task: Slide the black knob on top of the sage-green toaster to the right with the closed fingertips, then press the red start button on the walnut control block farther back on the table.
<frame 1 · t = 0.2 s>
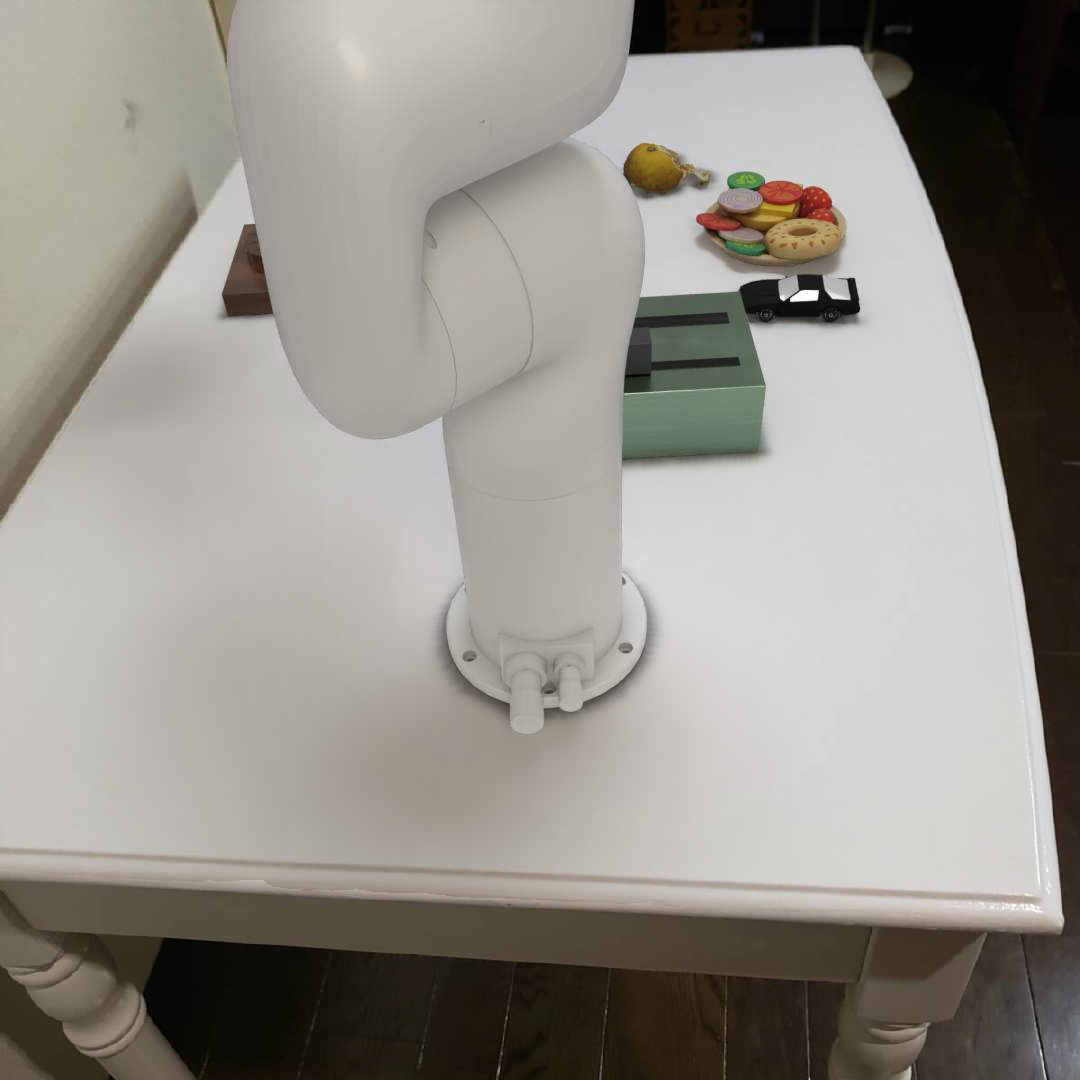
start button: (282, 232, 99), point 4 cm above the table, slide at 0.1 cm
toy car: (794, 311, 95), on the table
mug: (412, 186, 114), on the table
toaster: (668, 405, 86), on the table
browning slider: (633, 351, 79), point 7 cm above the table, slide at 0.0 cm
golden rounded piece: (669, 180, 112), on the table
control block: (293, 275, 102), on the table
toy food set: (770, 237, 103), on the table
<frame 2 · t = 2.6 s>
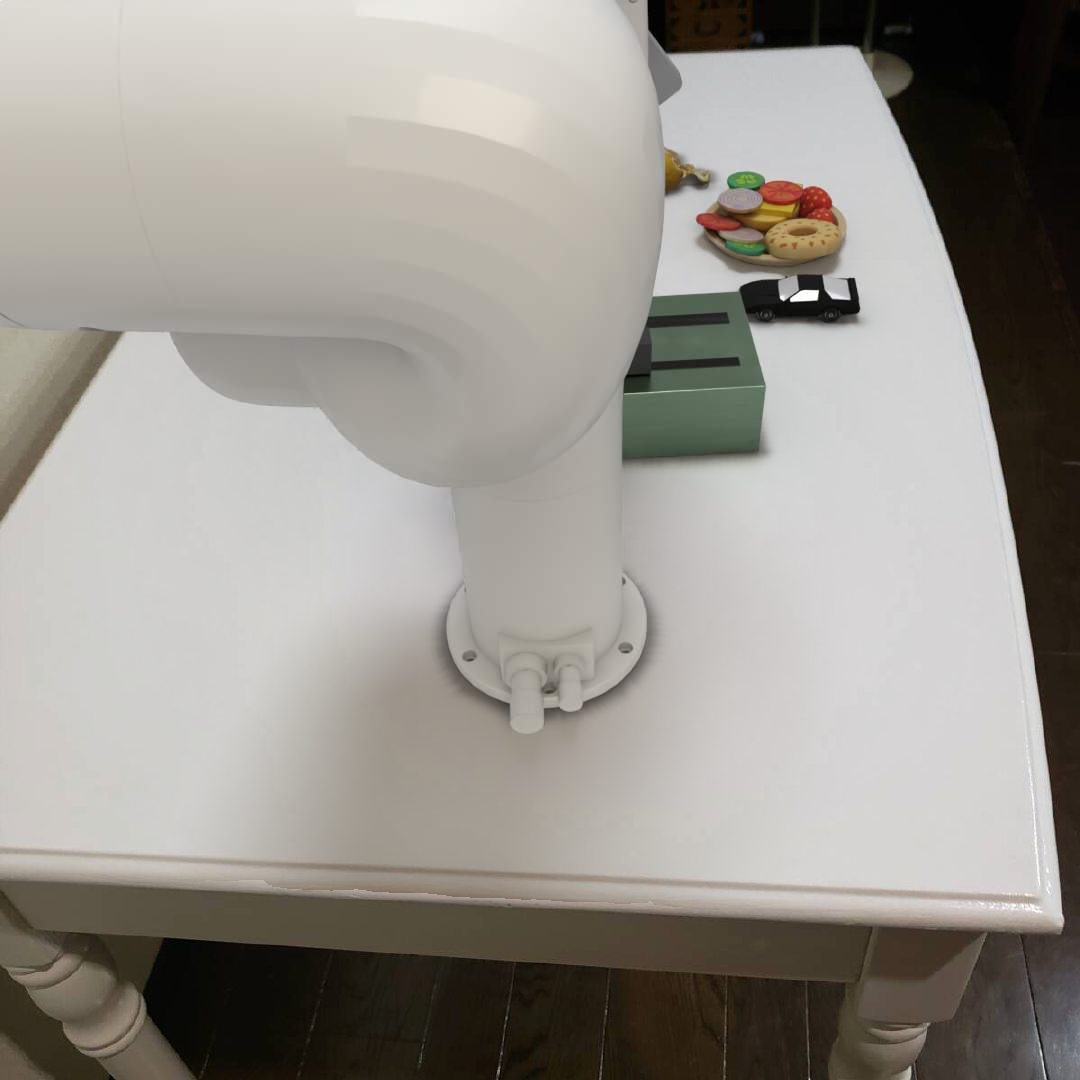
hand: (563, 199, 70), 19 cm above the table, tool pointing down, fingers open, 4 cm apart
nothing on the table moved.
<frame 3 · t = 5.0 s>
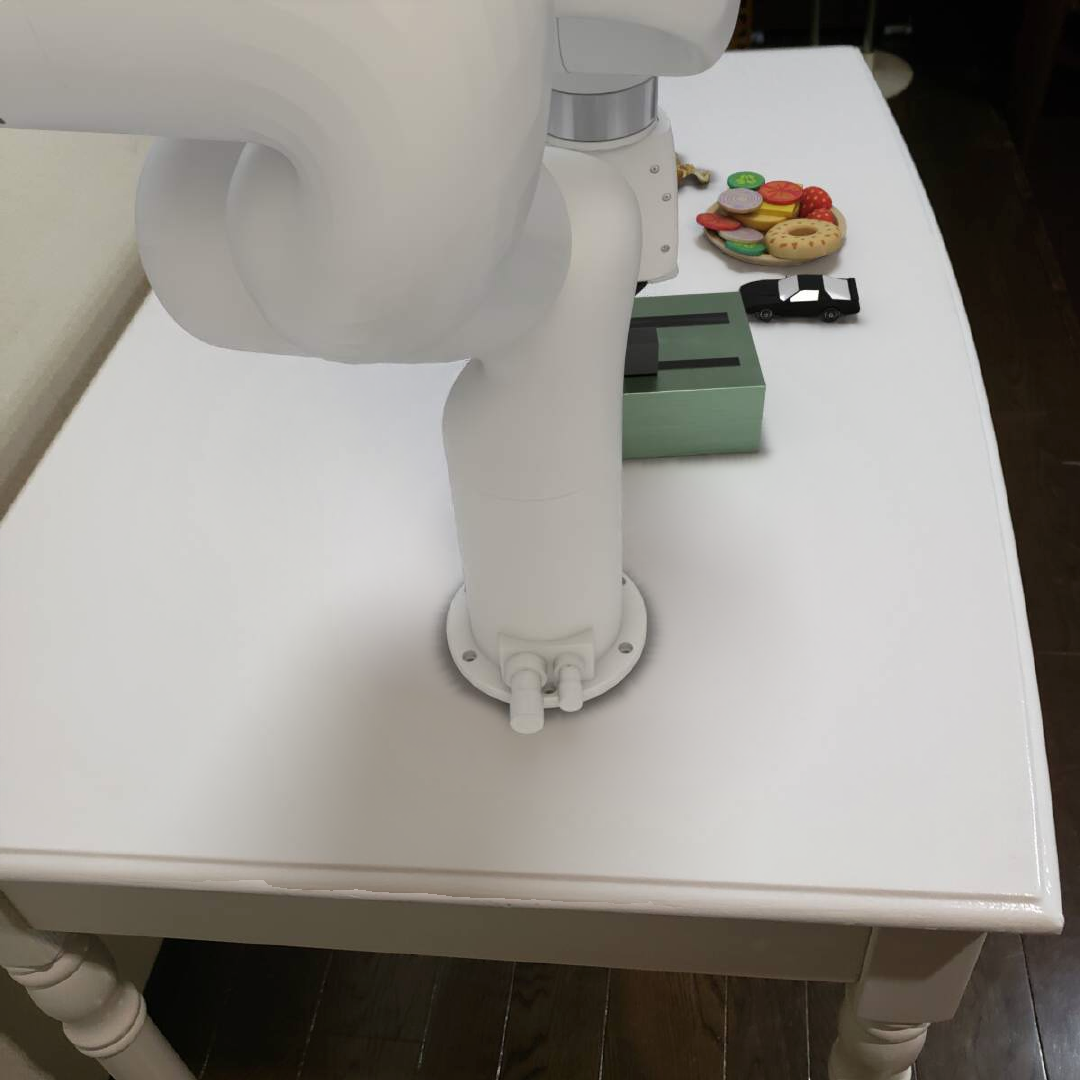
hand: (599, 351, 79), 7 cm above the table, tool pointing down, fingers closed
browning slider: (640, 351, 79), point 7 cm above the table, slide at 0.5 cm, touching gripper
everything else where it was.
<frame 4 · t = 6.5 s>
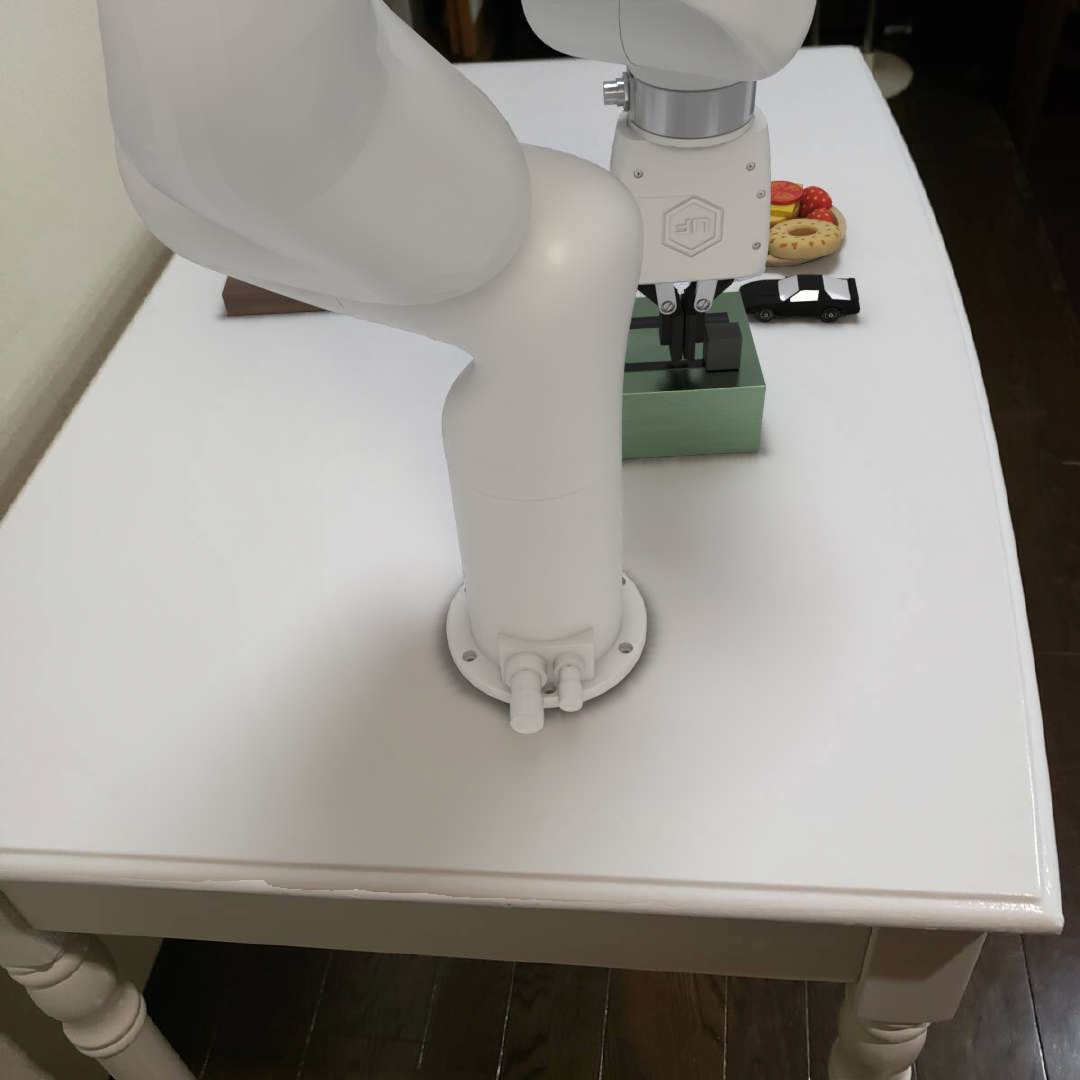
hand: (680, 349, 79), 7 cm above the table, tool pointing down, fingers closed
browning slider: (722, 346, 79), point 7 cm above the table, slide at 6.3 cm, touching gripper
everything else where it was.
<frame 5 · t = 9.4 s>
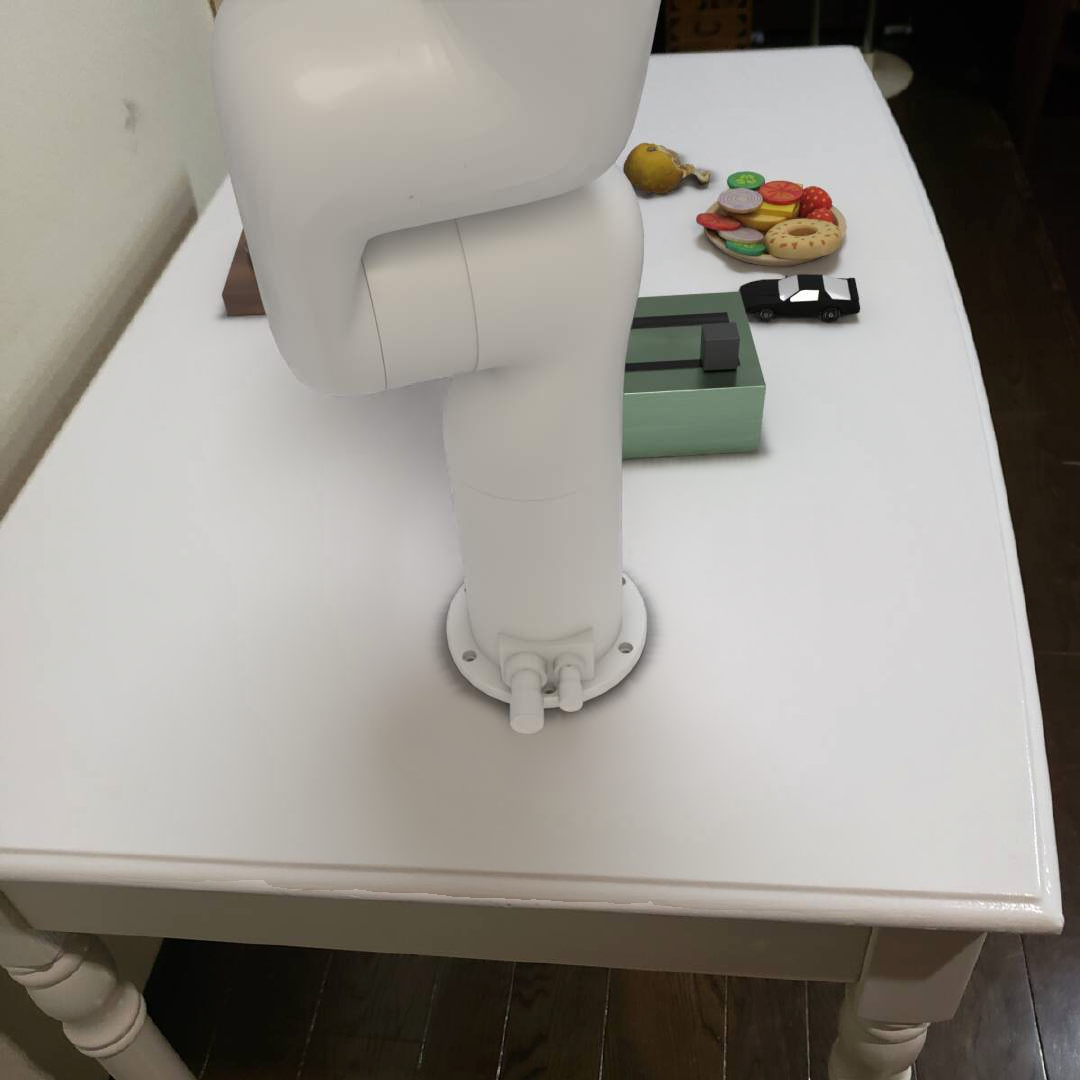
hand: (385, 96, 82), 20 cm above the table, tool pointing down, fingers closed
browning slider: (719, 346, 79), point 7 cm above the table, slide at 6.1 cm
everything else where it was.
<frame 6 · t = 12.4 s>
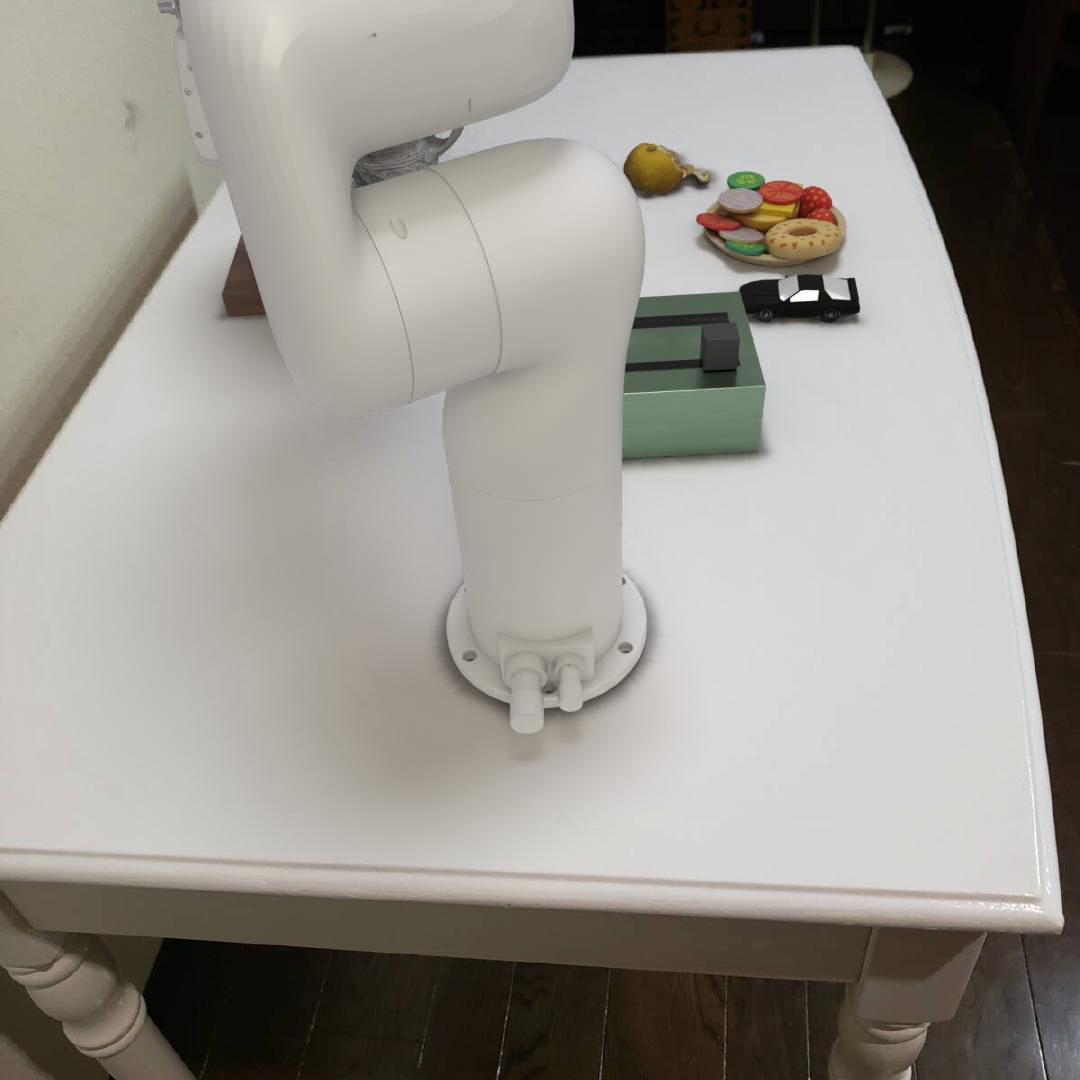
hand: (280, 222, 99), 5 cm above the table, tool pointing down, fingers closed
start button: (282, 232, 99), point 4 cm above the table, slide at 0.1 cm, touching gripper
everything else where it was.
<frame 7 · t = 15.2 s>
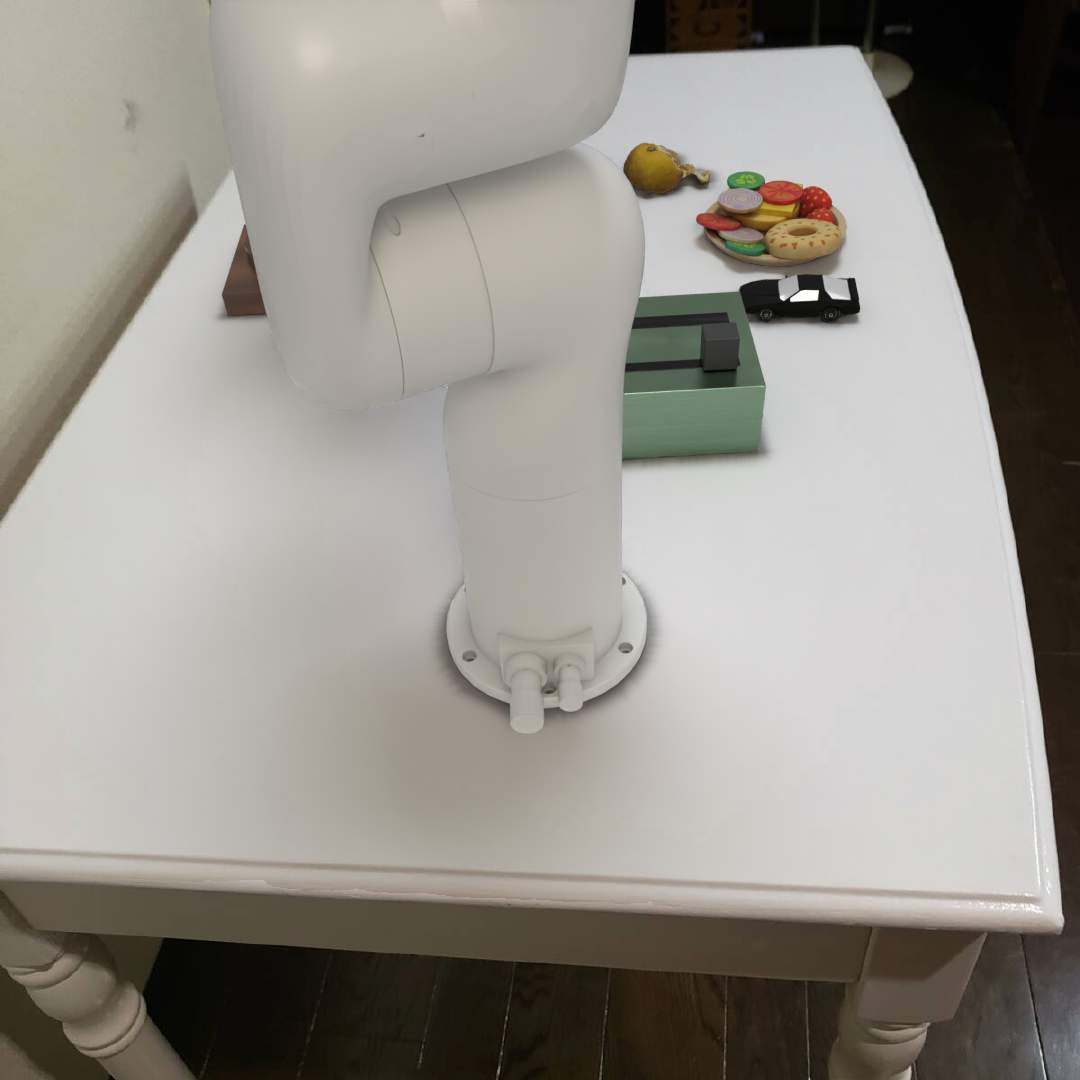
hand: (303, 81, 84), 20 cm above the table, tool pointing down, fingers closed
start button: (282, 232, 99), point 4 cm above the table, slide at 0.1 cm
everything else where it was.
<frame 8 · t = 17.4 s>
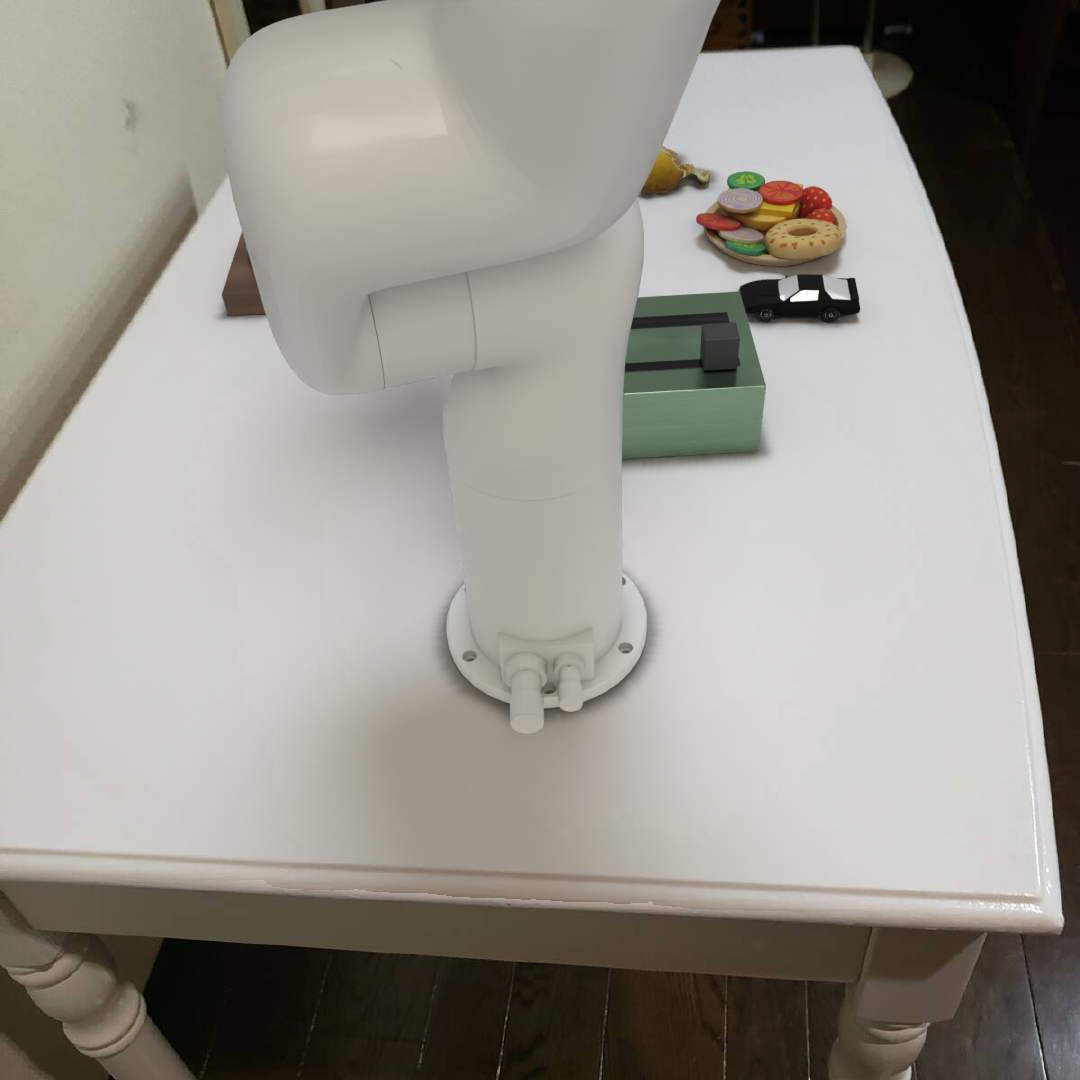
hand: (391, 17, 73), 27 cm above the table, tool pointing down, fingers closed
nothing on the table moved.
at the end: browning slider slide at 6.1 cm; start button pushed in 1.1 cm at the most during the clip, back to where it started at the end; start button slide at 0.1 cm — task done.
